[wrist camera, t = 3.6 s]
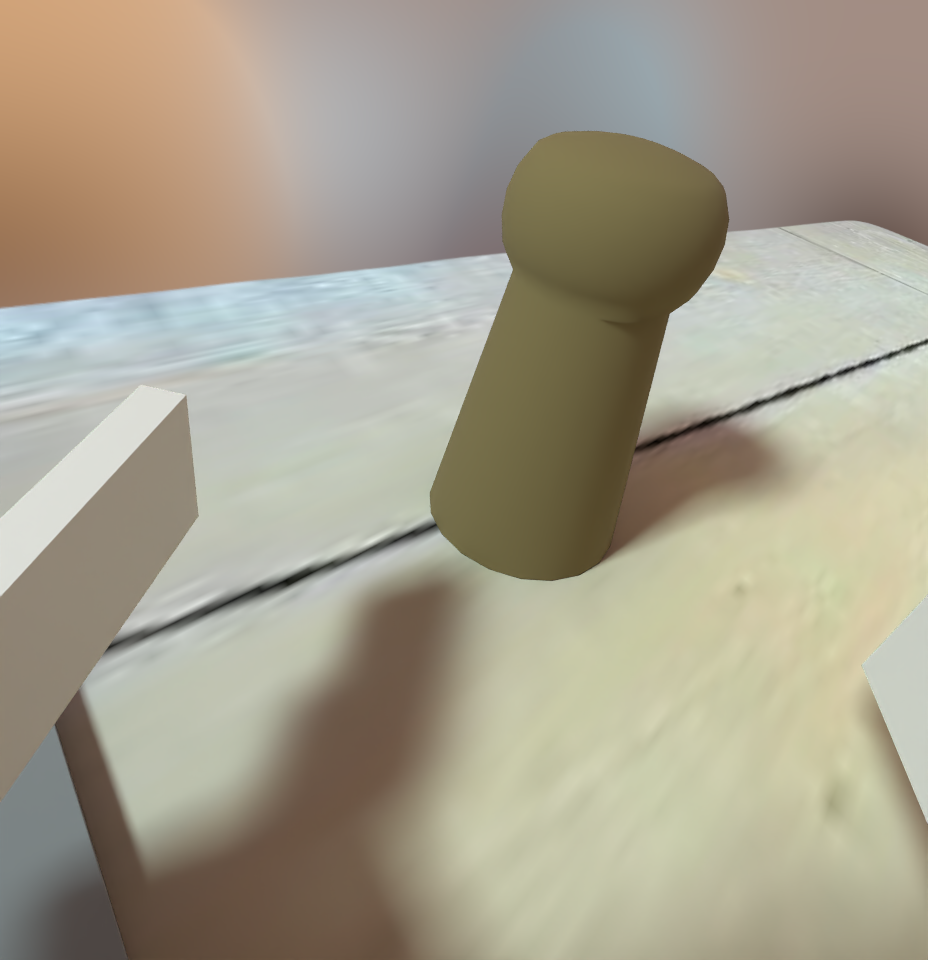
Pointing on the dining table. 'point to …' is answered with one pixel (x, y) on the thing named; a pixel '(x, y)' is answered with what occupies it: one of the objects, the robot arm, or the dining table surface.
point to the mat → (51, 869)
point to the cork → (574, 348)
